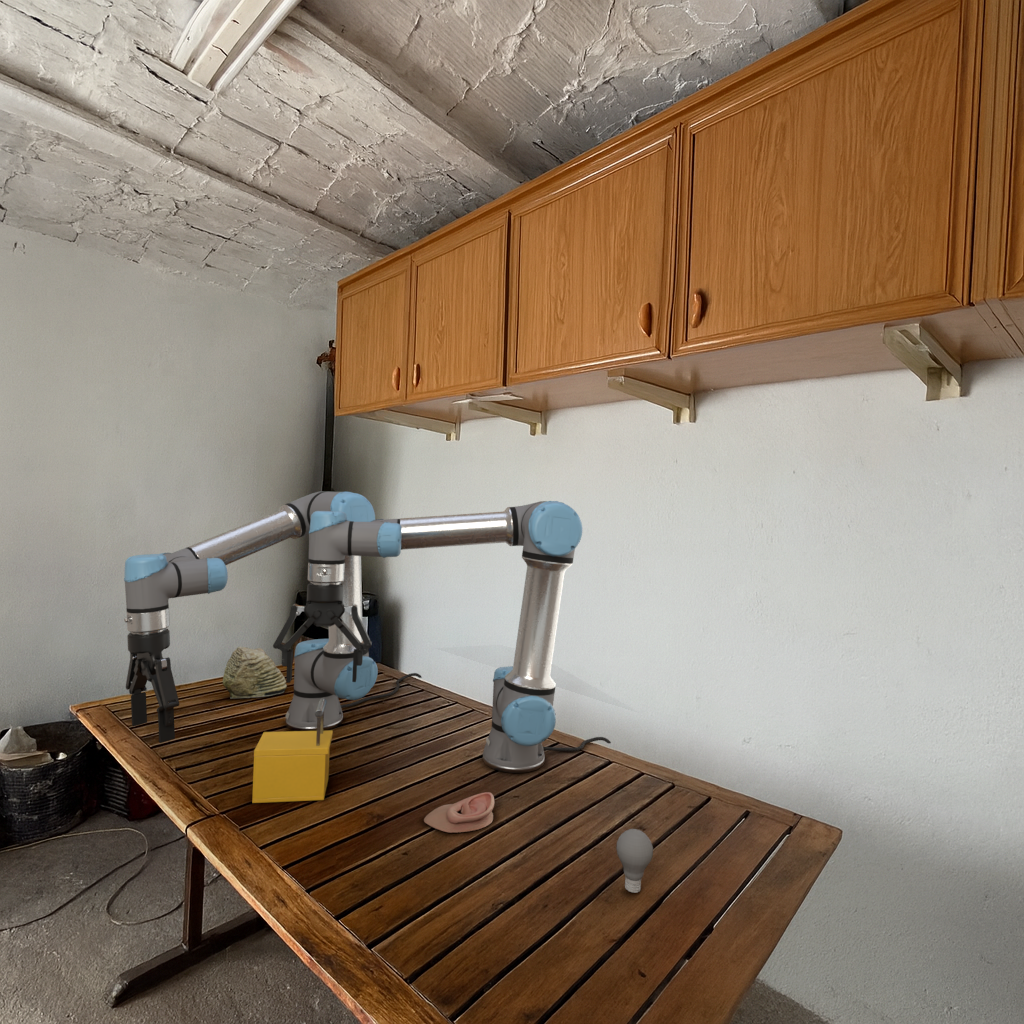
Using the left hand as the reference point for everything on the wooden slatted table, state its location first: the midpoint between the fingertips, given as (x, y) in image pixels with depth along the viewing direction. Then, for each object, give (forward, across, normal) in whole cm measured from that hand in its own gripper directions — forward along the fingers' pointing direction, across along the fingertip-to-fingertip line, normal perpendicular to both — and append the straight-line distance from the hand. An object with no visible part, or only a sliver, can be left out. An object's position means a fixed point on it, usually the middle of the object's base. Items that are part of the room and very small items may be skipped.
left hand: (152, 732), depth 131 cm
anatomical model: (+17, +52, +36) cm, 66 cm away
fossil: (+15, -47, +47) cm, 69 cm away
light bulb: (+18, +89, +39) cm, 99 cm away
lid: (+5, +18, +21) cm, 28 cm away
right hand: (-8, +22, +26) cm, 35 cm away
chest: (+15, +18, +20) cm, 31 cm away
